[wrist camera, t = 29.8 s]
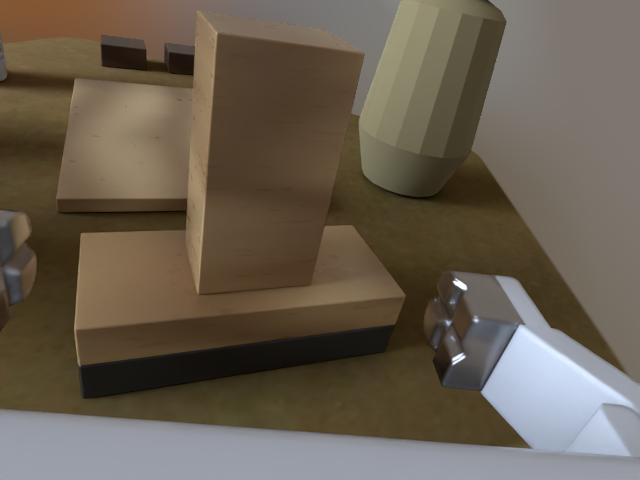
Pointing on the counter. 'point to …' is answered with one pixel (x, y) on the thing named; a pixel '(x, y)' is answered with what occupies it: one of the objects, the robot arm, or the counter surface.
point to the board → (126, 148)
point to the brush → (242, 229)
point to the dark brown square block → (179, 58)
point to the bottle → (2, 62)
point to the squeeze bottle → (428, 93)
